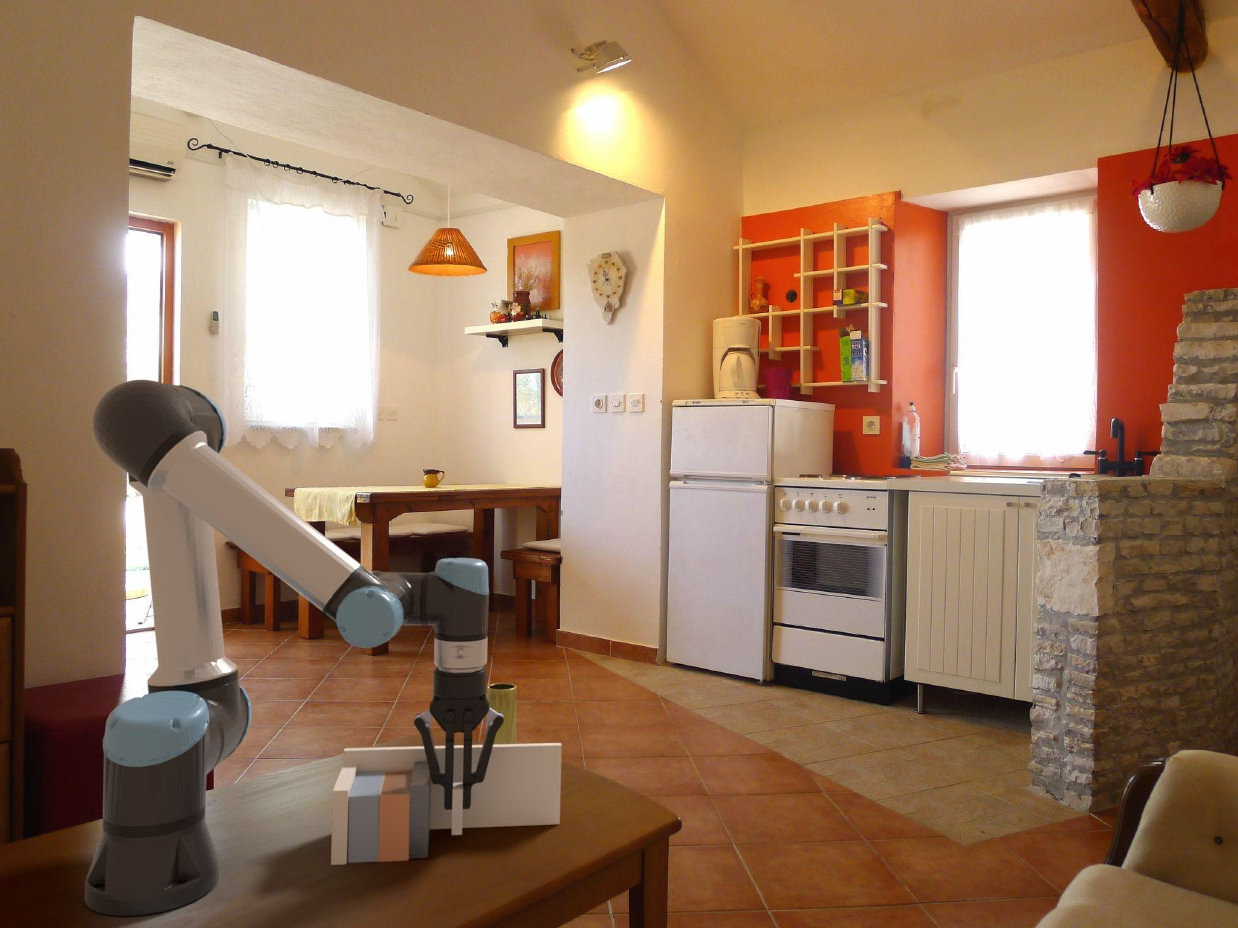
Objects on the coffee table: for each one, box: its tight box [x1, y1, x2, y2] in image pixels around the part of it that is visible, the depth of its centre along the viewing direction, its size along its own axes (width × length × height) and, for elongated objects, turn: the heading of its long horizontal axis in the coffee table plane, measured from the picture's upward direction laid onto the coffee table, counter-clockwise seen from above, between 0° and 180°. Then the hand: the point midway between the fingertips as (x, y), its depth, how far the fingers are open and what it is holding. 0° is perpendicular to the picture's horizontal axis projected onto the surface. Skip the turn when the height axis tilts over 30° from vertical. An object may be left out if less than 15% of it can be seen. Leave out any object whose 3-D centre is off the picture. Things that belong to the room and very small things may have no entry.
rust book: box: [377, 770, 413, 863], centre depth 132 cm, size 4×10×9 cm, turn 9°
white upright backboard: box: [330, 742, 563, 866], centre depth 134 cm, size 32×12×12 cm, turn 99°
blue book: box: [347, 771, 386, 864], centre depth 131 cm, size 4×10×9 cm, turn 9°
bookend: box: [409, 762, 431, 859], centre depth 132 cm, size 2×10×10 cm, turn 9°
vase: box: [485, 682, 518, 745], centre depth 167 cm, size 6×6×14 cm
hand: (456, 830), depth 133 cm, fingers closed
